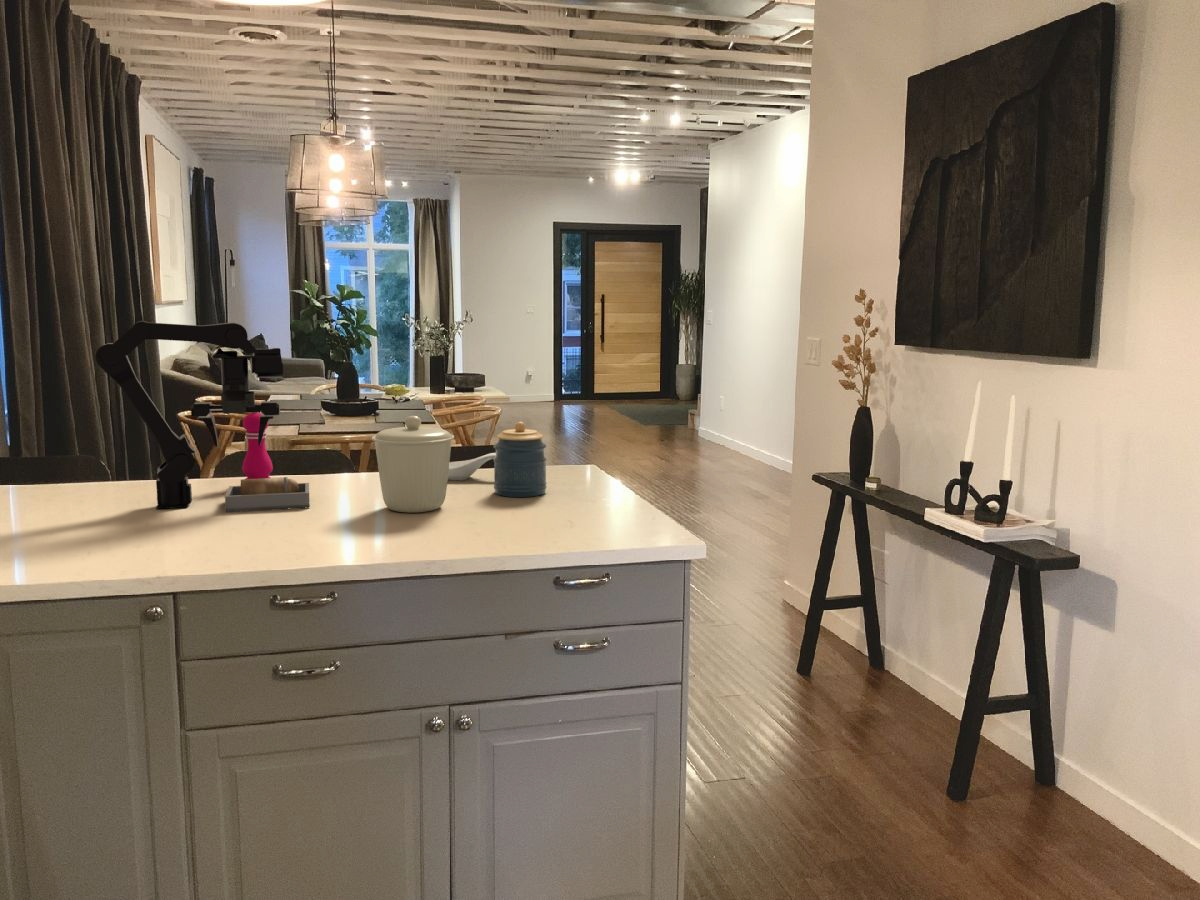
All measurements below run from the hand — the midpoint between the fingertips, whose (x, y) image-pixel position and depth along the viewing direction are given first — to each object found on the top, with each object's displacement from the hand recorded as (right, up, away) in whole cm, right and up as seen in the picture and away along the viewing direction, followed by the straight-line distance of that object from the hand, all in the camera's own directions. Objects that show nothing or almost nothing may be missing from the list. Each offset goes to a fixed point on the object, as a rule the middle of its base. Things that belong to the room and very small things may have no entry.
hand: (238, 446), depth 216 cm
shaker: (+1, -10, -1) cm, 10 cm away
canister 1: (+41, -14, -4) cm, 44 cm away
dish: (+8, -13, -1) cm, 15 cm away
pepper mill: (-3, -10, +22) cm, 24 cm away
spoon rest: (+50, -9, +34) cm, 62 cm away
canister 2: (+64, -12, +16) cm, 66 cm away
